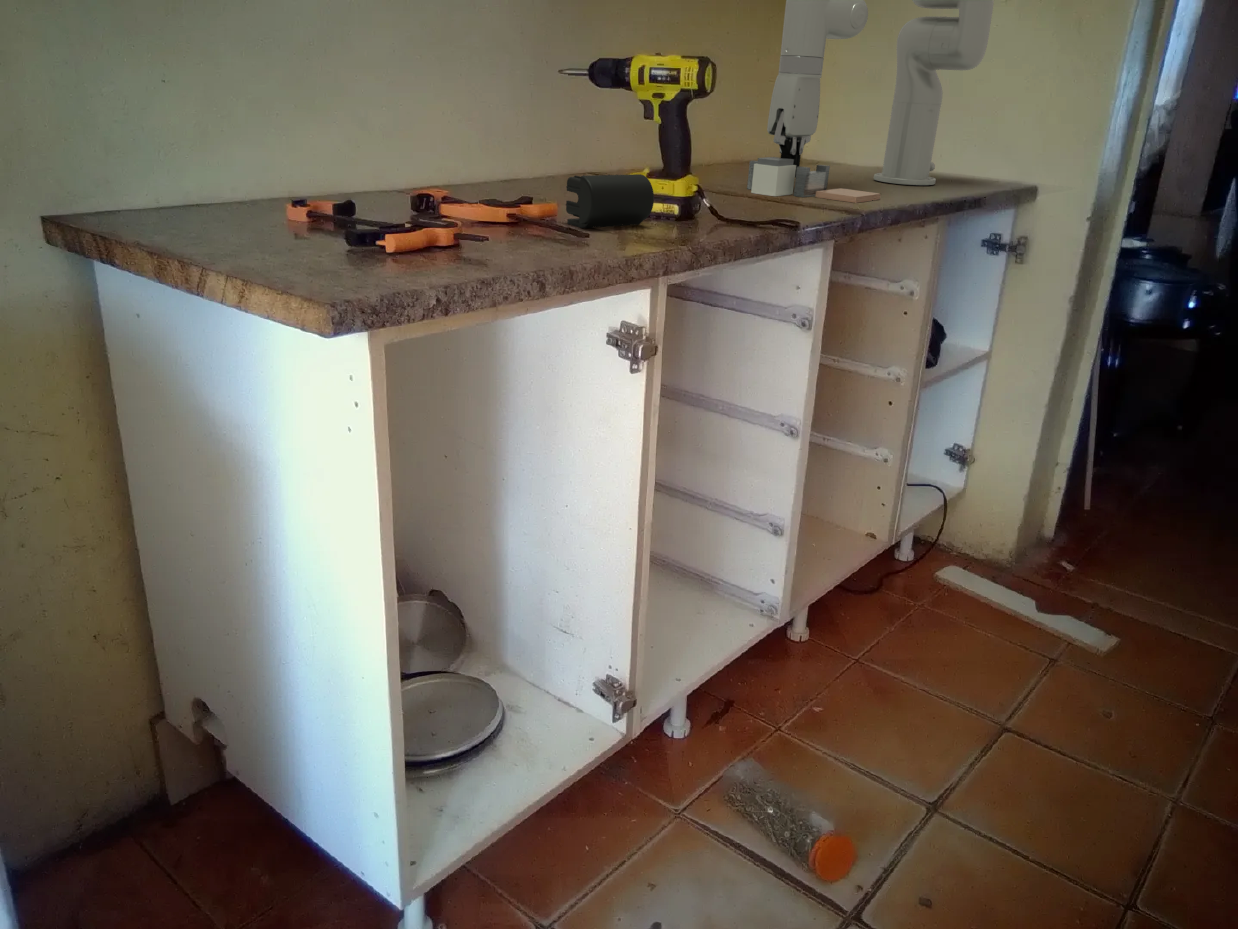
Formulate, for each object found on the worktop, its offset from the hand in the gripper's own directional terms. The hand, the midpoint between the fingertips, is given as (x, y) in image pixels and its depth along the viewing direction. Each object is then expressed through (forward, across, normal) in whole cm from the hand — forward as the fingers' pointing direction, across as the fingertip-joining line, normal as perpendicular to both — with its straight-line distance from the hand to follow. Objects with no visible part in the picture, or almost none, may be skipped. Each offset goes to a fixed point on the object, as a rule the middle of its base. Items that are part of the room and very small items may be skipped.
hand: (788, 176), depth 173 cm
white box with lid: (+3, +5, 0) cm, 6 cm away
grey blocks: (+3, 0, 0) cm, 3 cm away
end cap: (+3, +58, +8) cm, 59 cm away
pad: (+3, -3, +11) cm, 12 cm away
